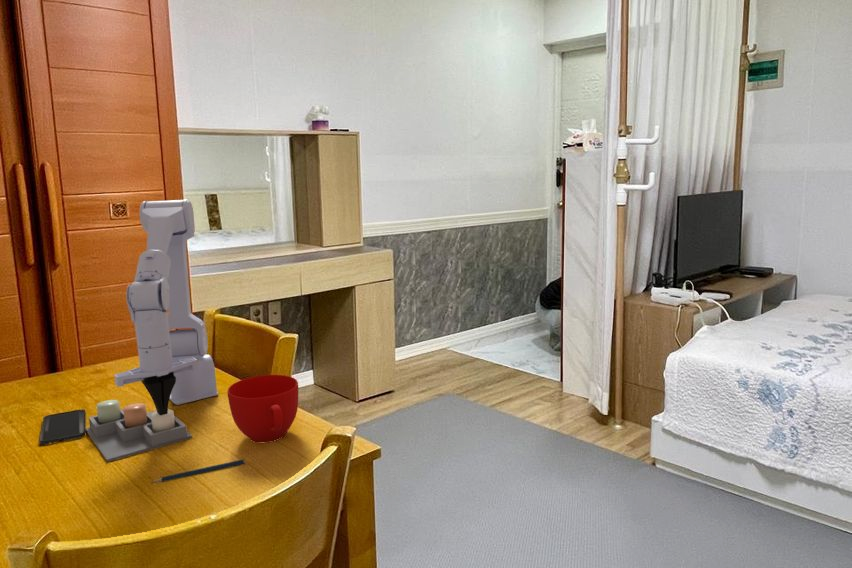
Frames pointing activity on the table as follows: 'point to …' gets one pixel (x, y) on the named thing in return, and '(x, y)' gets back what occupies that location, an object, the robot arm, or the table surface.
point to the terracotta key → (135, 415)
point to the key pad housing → (132, 437)
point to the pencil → (200, 471)
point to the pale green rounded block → (108, 411)
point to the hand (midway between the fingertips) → (162, 413)
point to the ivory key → (162, 421)
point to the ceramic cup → (264, 406)
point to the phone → (63, 426)
